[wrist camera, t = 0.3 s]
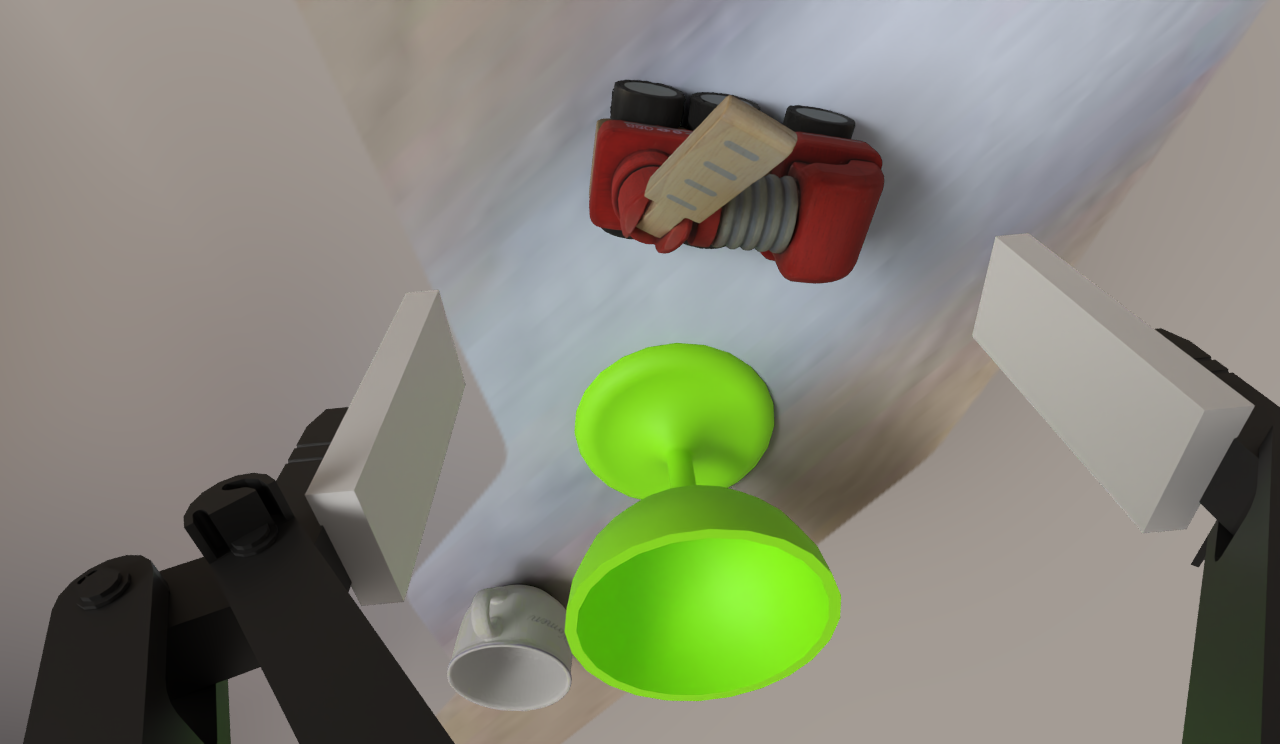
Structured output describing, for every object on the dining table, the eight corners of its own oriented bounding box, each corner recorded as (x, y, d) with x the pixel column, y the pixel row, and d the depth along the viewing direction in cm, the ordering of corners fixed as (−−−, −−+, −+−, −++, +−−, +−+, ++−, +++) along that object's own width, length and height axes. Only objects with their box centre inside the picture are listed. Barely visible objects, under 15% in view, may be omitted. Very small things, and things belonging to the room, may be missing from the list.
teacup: (578, 635, 69) (576, 712, 62) (471, 641, 68) (457, 720, 62) (566, 542, 61) (562, 619, 54) (445, 548, 60) (426, 627, 54)
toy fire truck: (814, 241, 45) (916, 397, 31) (585, 209, 43) (577, 361, 29) (874, 60, 39) (1036, 149, 25) (608, 13, 37) (614, 79, 23)
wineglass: (533, 406, 52) (506, 604, 37) (716, 306, 48) (768, 484, 33) (642, 525, 60) (655, 727, 45) (806, 448, 56) (881, 643, 41)
